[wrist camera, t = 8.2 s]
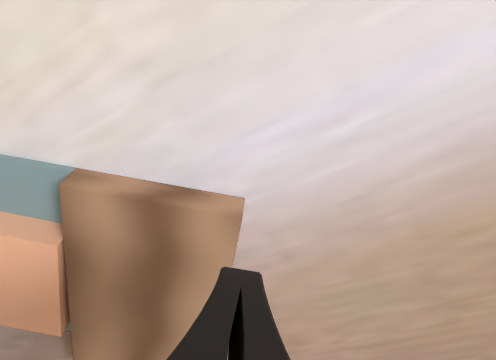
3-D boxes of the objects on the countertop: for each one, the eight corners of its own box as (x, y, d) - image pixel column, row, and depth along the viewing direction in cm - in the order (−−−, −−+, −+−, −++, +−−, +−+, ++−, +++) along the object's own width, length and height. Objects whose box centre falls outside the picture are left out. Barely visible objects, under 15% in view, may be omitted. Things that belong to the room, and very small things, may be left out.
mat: (-28, 310, 28) (-32, 314, 28) (-72, 141, 22) (-78, 144, 21) (84, 329, 28) (82, 333, 28) (76, 168, 22) (72, 171, 21)
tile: (-9, 297, 27) (-29, 320, 25) (-25, 206, 23) (-49, 225, 21) (74, 313, 27) (61, 336, 25) (73, 225, 23) (57, 246, 22)
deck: (85, 346, 29) (74, 369, 28) (76, 168, 22) (58, 184, 20) (211, 366, 30) (207, 390, 28) (244, 198, 22) (242, 217, 20)
